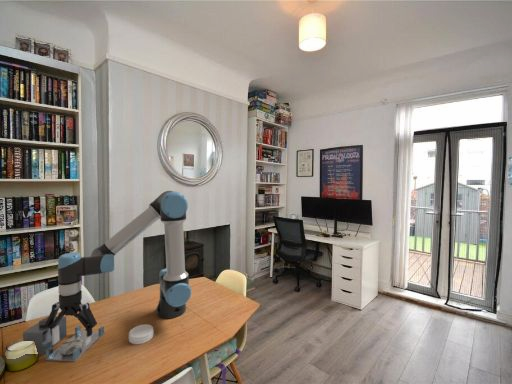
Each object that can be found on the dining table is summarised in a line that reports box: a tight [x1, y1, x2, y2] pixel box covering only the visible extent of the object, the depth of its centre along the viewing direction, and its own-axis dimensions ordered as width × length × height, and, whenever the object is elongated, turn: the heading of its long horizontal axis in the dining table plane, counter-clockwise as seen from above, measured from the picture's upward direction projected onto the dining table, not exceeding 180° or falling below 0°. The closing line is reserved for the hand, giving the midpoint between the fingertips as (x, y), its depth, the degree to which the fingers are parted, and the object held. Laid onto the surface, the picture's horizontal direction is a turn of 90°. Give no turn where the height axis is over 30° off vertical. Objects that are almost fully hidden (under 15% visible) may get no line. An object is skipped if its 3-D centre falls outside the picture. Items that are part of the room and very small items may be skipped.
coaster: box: [128, 323, 154, 345], centre depth 113 cm, size 10×10×4 cm
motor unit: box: [22, 315, 106, 362], centre depth 107 cm, size 24×18×10 cm
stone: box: [60, 337, 83, 355], centre depth 104 cm, size 10×7×3 cm
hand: (71, 343), depth 104 cm, fingers open, 13 cm apart
